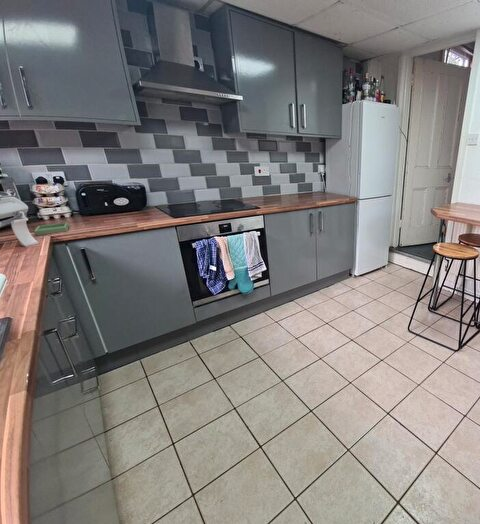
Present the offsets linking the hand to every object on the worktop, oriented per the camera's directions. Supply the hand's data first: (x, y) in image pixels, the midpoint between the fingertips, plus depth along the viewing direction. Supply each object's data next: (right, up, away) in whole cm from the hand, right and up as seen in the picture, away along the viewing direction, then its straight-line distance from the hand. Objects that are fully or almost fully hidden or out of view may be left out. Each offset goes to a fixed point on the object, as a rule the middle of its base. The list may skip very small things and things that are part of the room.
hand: (14, 223), depth 130 cm
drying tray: (-5, -1, +22) cm, 23 cm away
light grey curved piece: (+3, -9, +4) cm, 10 cm away
